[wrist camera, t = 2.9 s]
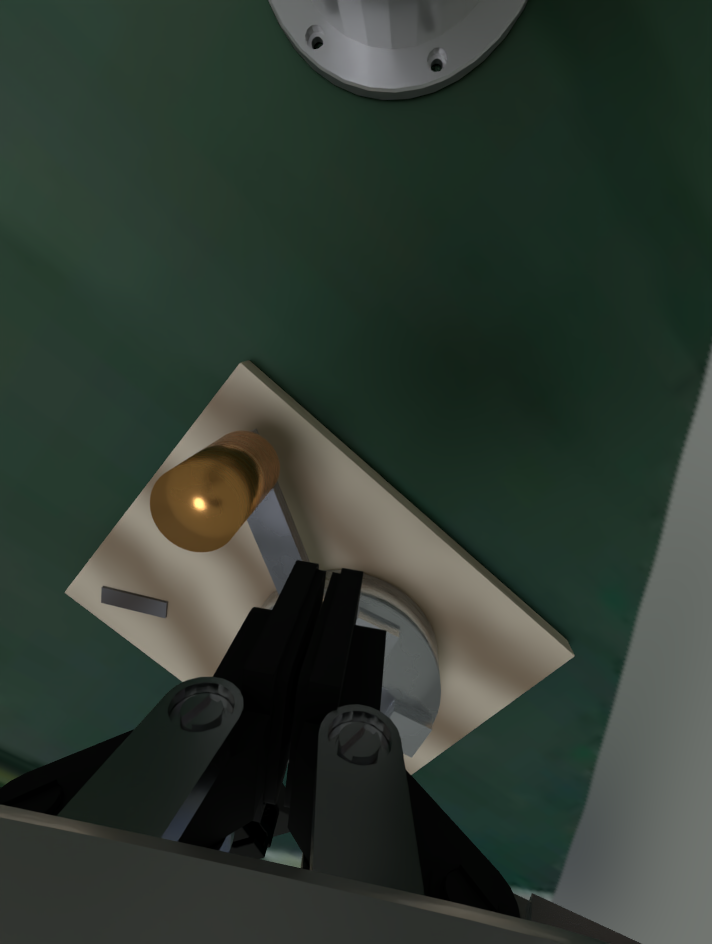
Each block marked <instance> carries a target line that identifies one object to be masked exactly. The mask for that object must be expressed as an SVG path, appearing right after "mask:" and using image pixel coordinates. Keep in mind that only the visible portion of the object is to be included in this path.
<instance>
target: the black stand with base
mask: <svg viewBox="0 0 712 944" xmlns="http://www.w3.org/2000/svg"><path fill="white" fill-rule="evenodd" d="M285 789H286V788H285V786H284V785H283V783H282V785H281V789H280V792H279V796H278V799H277V802H276V804H275V805H274V804H269V803H266V805H265V808H264V812H263V815H262V818H261V822H255V821H251V822H250V823H248V824H246V825H245V826H243V827H241V828H240V829H238V830H236V831H235V832H234V839H233V842H232V845H231V848H230V851H229V853H233V854H237V855H242V856H246V857H251V858H256V859H260V858H264V857H265V853H266V850H267V848H268V847H270V846H271V842H272V838H273V837H274V836H277V835H281V834H284V833H288V832H290V831H289V829H288V819H289V810H290V808H288V807H284V798H285Z"/></svg>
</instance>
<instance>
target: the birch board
mask: <svg viewBox="0 0 712 944" xmlns="http://www.w3.org/2000/svg"><path fill="white" fill-rule="evenodd" d="M256 428H257V430H258V433H259V435H260V436H262V437H263V438H265V439H266V440H267V441H268V442H269V443H270V444H271V445H272V447H273V448H274V450H275V451H276V453H277V456H278V459H279V463H280V473H279V478H278V483H279V486H280V488H281V491H282V493H283V496H284V498H285V501H286V503H287V506H288V508H289V511H290V513H291V516H292V518H293V521H294V523H295V526H296V528H297V531H298V533H299V536H300V538H301V541H302V543H303V546H304V548H305V551H306V553H307V556H308V558H309V561H310V562H311V563H317V564H319V570H341V569H342V568H347V569H352V570H358V571H364V574H368V575H371V576H374V577H377V578H379V579H381V580H384V581H386V582H388V583H390V584H391V585H393V586H395V587H397V588H398V589H399V590H401V591H402V592H403V593H405V594H406V595H407V596H409V597H410V598H411V599H412V600H413V601H414V602H415V603H416V604H417V605H418V607H419V608H420V609H421V610H422V612H423V613H424V614H425V616H426V617H427V619H428V621H429V622H430V624H431V627H432V629H433V631H434V634H435V638H436V642H437V647H438V658H439V671H440V684H441V700H440V706H439V710H438V714H437V716H436V719H435V721H434V723H433V725H432V731H431V733H430V734H429V735H428V737H427V738H426V739H425V741H424V742H423V743H422V745H421V746H420V747H419V749H418V750H417V751H416V753H415V754H414V755H413V757H412V758H411V757H409V756H407V755H405V754H403V755H404V762H405V769H406V770H407V771H408V772H409V774H410V775H412V774H413V773H414V772H416V771H417V770H419V769H420V768H421V767H423V766H424V765H425V764H427V763H428V762H430V761H431V760H432V759H434V758H435V757H436V756H438V755H439V754H441V753H442V752H443V751H445V750H446V749H447V748H449V747H450V746H452V745H453V744H454V743H456V742H457V741H458V740H460V739H461V738H463V737H464V736H465V735H467V734H468V733H469V732H471V731H472V730H474V729H475V728H476V727H478V726H479V725H480V724H482V723H483V722H485V721H486V720H487V719H489V718H490V717H491V716H493V715H494V714H496V713H497V712H498V711H500V710H501V709H502V708H504V707H505V706H507V705H508V704H509V703H511V702H512V701H513V700H515V699H516V698H518V697H519V696H520V695H522V694H523V693H524V692H526V691H527V690H529V689H530V688H531V687H533V686H534V685H535V684H537V683H538V682H540V681H541V680H542V679H544V678H545V677H546V676H548V675H549V674H551V673H552V672H553V671H555V670H556V669H557V668H559V667H560V666H562V665H563V664H564V663H566V662H567V661H568V660H570V659H571V658H573V657H574V656H575V655H574V653H573V651H572V649H571V647H570V645H569V643H568V641H567V640H566V639H565V638H564V637H563V636H562V635H561V634H560V633H559V632H557V631H556V630H555V629H554V628H553V627H552V626H551V625H549V624H548V623H547V622H546V621H545V620H544V619H543V618H541V617H540V616H539V615H538V614H537V613H536V612H535V611H534V610H532V609H531V608H530V607H529V606H528V605H527V604H526V603H524V602H523V601H522V600H521V599H520V598H519V597H518V596H516V595H515V594H514V593H513V592H512V591H511V590H510V589H509V588H507V587H506V586H505V585H504V584H503V583H502V582H501V581H499V580H498V579H497V578H496V577H495V576H494V575H493V574H492V573H490V572H489V571H488V570H487V569H486V568H485V567H484V566H482V565H481V564H480V563H479V562H478V561H477V560H476V559H474V558H473V557H472V556H471V555H470V554H469V553H468V552H467V551H465V550H464V549H463V548H462V547H461V546H460V545H459V544H457V543H456V542H455V541H454V540H453V539H452V538H451V537H449V536H448V535H447V534H446V533H445V532H444V531H443V530H442V529H440V528H439V527H438V526H437V525H436V524H435V523H434V522H432V521H431V520H430V519H429V518H428V517H427V516H426V515H424V514H423V513H422V512H421V511H420V510H419V509H418V508H417V507H415V506H414V505H413V504H412V503H411V502H410V501H409V500H407V499H406V498H405V497H404V496H403V495H402V494H401V493H399V492H398V491H397V490H396V489H395V488H394V487H393V486H392V485H390V484H389V483H388V482H387V481H386V480H385V479H384V478H382V477H381V476H380V475H379V474H378V473H377V472H376V471H375V470H373V469H372V468H371V467H370V466H369V465H368V464H367V463H365V462H364V461H363V460H362V459H361V458H360V457H359V456H357V455H356V454H355V453H354V452H353V451H352V450H351V449H350V448H348V447H347V446H346V445H345V444H344V443H343V442H342V441H340V440H339V439H338V438H337V437H336V436H335V435H334V434H332V433H331V432H330V431H329V430H328V429H327V428H326V427H325V426H323V425H322V424H321V423H320V422H319V421H318V420H317V419H315V418H314V417H313V416H312V415H311V414H310V413H309V412H307V411H306V410H305V409H304V408H303V407H302V406H301V405H300V404H298V403H297V402H296V401H295V400H294V399H293V398H292V397H290V396H289V395H288V394H287V393H286V392H285V391H284V390H282V389H281V388H280V387H279V386H278V385H277V384H276V383H275V382H273V381H272V380H271V379H270V378H269V377H268V376H267V375H265V374H264V373H263V372H262V371H261V370H260V369H259V368H258V367H256V366H255V365H254V364H253V363H252V362H251V361H250V360H248V361H245V362H241V363H240V364H239V365H238V366H237V368H236V369H235V370H234V372H233V373H232V374H231V375H230V377H229V378H228V379H227V381H226V382H225V383H224V385H223V386H222V387H221V389H220V390H219V391H218V392H217V394H216V395H215V396H214V398H213V399H212V400H211V402H210V403H209V404H208V406H207V407H206V408H205V409H204V411H203V412H202V413H201V415H200V416H199V417H198V419H197V420H196V421H195V423H194V424H193V425H192V426H191V428H190V429H189V430H188V432H187V433H186V434H185V436H184V437H183V438H182V440H181V441H180V442H179V443H178V445H177V446H176V447H175V449H174V450H173V451H172V453H171V454H170V455H169V457H168V458H167V459H166V460H165V462H164V463H163V464H162V466H161V467H160V468H159V470H158V471H157V472H156V474H155V475H154V476H153V477H152V479H151V480H150V481H149V483H148V484H147V485H146V487H145V488H144V489H143V491H142V492H141V493H140V494H139V496H138V497H137V498H136V500H135V501H134V502H133V504H132V505H131V506H130V507H129V509H128V510H127V511H126V513H125V514H124V515H123V517H122V518H121V519H120V521H119V522H118V523H117V524H116V526H115V527H114V528H113V530H112V531H111V532H110V534H109V535H108V536H107V538H106V539H105V540H104V541H103V543H102V544H101V545H100V547H99V548H98V549H97V551H96V552H95V553H94V555H93V556H92V557H91V558H90V560H89V561H88V562H87V564H86V565H85V566H84V568H83V569H82V570H81V572H80V573H79V574H78V575H77V577H76V578H75V579H74V581H73V582H72V583H71V585H70V586H69V587H68V589H67V590H66V591H65V593H66V594H67V595H69V596H70V597H71V598H73V599H74V600H75V601H77V602H78V603H79V604H80V605H82V606H83V607H84V608H86V609H87V610H88V611H90V612H91V613H92V614H94V615H95V616H96V617H98V618H99V619H100V620H102V621H103V622H104V623H106V624H107V625H108V626H110V627H111V628H112V629H114V630H115V631H116V632H118V633H119V634H120V635H121V636H123V637H124V638H125V639H127V640H128V641H129V642H131V643H132V644H133V645H135V646H136V647H137V648H139V649H140V650H141V651H143V652H144V653H145V654H147V655H148V656H149V657H151V658H152V659H153V660H155V661H156V662H157V663H159V664H160V665H161V666H162V667H164V668H165V669H166V670H168V671H169V672H170V673H172V674H173V675H174V676H176V677H177V678H178V679H180V680H181V681H182V682H184V681H186V680H190V679H194V678H197V677H213V675H214V673H215V672H216V670H217V668H218V666H219V665H220V663H221V661H222V659H223V658H224V656H225V654H226V652H227V651H228V649H229V647H230V645H231V644H232V642H233V640H234V638H235V636H236V635H237V633H238V631H239V629H240V628H241V626H242V624H243V622H244V621H245V619H246V617H247V615H248V614H249V612H250V610H251V609H252V608H253V607H259V608H261V607H262V605H263V603H264V602H265V601H266V600H267V599H268V597H269V596H270V595H271V594H272V593H273V592H275V591H276V587H275V585H274V583H273V580H272V578H271V576H270V573H269V571H268V569H267V566H266V564H265V562H264V559H263V557H262V555H261V552H260V550H259V548H258V545H257V543H256V541H255V538H254V536H253V534H252V531H251V529H250V527H249V524H248V522H247V520H246V521H245V523H244V524H243V525H242V526H241V528H240V529H239V530H238V531H237V532H236V534H235V535H234V536H233V537H232V539H231V540H230V541H229V542H228V543H227V544H225V545H224V546H223V547H221V548H219V549H217V550H214V551H210V552H192V551H188V550H185V549H182V548H180V547H178V546H176V545H175V544H173V543H172V542H170V541H169V540H168V539H167V538H166V537H164V535H163V534H162V533H161V532H160V531H159V529H158V528H157V526H156V524H155V523H154V520H153V518H152V515H151V511H150V495H151V491H152V488H153V486H154V484H155V483H156V481H157V480H158V479H159V478H160V477H161V476H162V475H163V474H164V473H166V472H167V471H169V470H170V469H172V468H174V467H175V466H177V465H178V464H180V463H182V462H183V461H185V460H186V459H188V458H189V457H191V456H193V455H194V454H196V453H197V452H199V451H201V450H202V449H204V448H205V447H207V446H208V445H210V444H212V443H213V442H215V441H216V440H218V439H220V438H221V437H223V436H224V435H226V434H228V433H230V432H234V431H250V430H253V429H256Z"/></svg>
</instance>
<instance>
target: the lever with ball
mask: <svg viewBox="0 0 712 944" xmlns="http://www.w3.org/2000/svg"><path fill="white" fill-rule="evenodd" d="M279 473H280V463H279V459H278V456H277V453H276V451H275V450H274V448H273V447H272V445H271V444H270V443H269V442H268V441H267V440H266V439H265V438H263V437H262V436H260V435H259V433H258V430H257V428H256V429H253V430H250V431H234V432H230V433H228V434H226V435H224V436H223V437H221V438H220V439H218V440H216V441H215V442H213V443H212V444H210V445H208V446H207V447H205V448H204V449H202V450H201V451H199V452H197V453H196V454H194V455H193V456H191V457H189V458H188V459H186V460H185V461H183V462H182V463H180V464H178V465H177V466H175V467H174V468H172V469H170V470H169V471H167V472H166V473H164V474H163V475H162V476H161V477H160V478H159V479H158V480H157V481H156V483H155V484H154V486H153V488H152V491H151V495H150V511H151V515H152V518H153V520H154V523H155V524H156V526H157V528H158V529H159V531H160V532H161V533H162V534H163V535H164V537H166V538H167V539H168V540H169V541H170V542H172V543H173V544H175V545H176V546H178V547H180V548H182V549H185V550H188V551H192V552H210V551H214V550H217V549H219V548H221V547H223V546H224V545H225V544H227V543H228V542H229V541H230V540H231V539H232V537H233V536H234V535H235V534H236V532H237V531H238V530H239V529H240V528H241V526H242V525H243V524H244V523H245V521H246V520H247V522H248V524H249V527H250V529H251V531H252V534H253V536H254V538H255V541H256V543H257V545H258V548H259V550H260V552H261V555H262V557H263V559H264V562H265V564H266V566H267V569H268V571H269V573H270V576H271V578H272V580H273V583H274V585H275V587H276V591H275V592H273V593H272V594H271V595H270V596H269V597H268V599H267V600H266V601H265V602H264V603H263V605H262V607H261V608H264V609H270V610H272V609H273V607H274V605H275V603H276V601H277V599H278V597H279V595H280V593H281V591H282V589H283V587H284V585H285V583H286V581H287V578H288V576H289V574H290V572H291V570H292V568H293V566H294V564H295V562H296V561H297V560H300V561H306V562H310V561H309V558H308V556H307V553H306V551H305V548H304V546H303V543H302V541H301V538H300V536H299V533H298V531H297V528H296V526H295V523H294V521H293V518H292V516H291V513H290V511H289V508H288V506H287V503H286V501H285V498H284V496H283V493H282V491H281V488H280V486H279V483H278V478H279ZM323 571H326V579H325V587H324V595H323V600H324V597H325V594H326V591H327V587H328V584H329V581H330V578H331V575H332V572H335V573H341V570H323ZM356 625H360V626H365V627H371V628H376V629H382V630H386V645H385V657H384V669H383V682H382V694H381V706H380V711H381V712H382V713H384V714H385V715H386V716H387V717H389V718H390V719H391V720H392V722H393V723H394V724H395V726H396V727H397V729H398V732H399V735H400V738H401V742H402V749H403V754H405V755H407V756H409V757H411V758H412V757H413V755H414V754H415V753H416V751H417V750H418V749H419V747H420V746H421V745H422V743H423V742H424V741H425V739H426V738H427V737H428V735H429V734H430V733H431V731H432V725H433V723H434V721H435V719H436V716H437V714H438V710H439V706H440V700H441V684H440V671H439V658H438V647H437V642H436V638H435V634H434V631H433V629H432V627H431V624H430V622H429V621H428V619H427V617H426V616H425V614H424V613H423V612H422V610H421V609H420V608H419V607H418V605H417V604H416V603H415V602H414V601H413V600H412V599H411V598H410V597H409V596H407V595H406V594H405V593H403V592H402V591H401V590H399V589H398V588H397V587H395V586H393V585H391V584H390V583H388V582H386V581H384V580H381V579H379V578H377V577H374V576H371V575H368V574H364V573H363V580H362V587H361V593H360V600H359V607H358V613H357V620H356ZM288 762H289V761H288Z"/></svg>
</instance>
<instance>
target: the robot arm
mask: <svg viewBox="0 0 712 944" xmlns="http://www.w3.org/2000/svg"><path fill="white" fill-rule="evenodd" d="M268 1H269V3H270V6H271V8H272V10H273V12H274V14H275V17H276V19H277V21H278V23H279V25H280V26H281V28H282V30H283V31H284V33H285V35H286V36H287V38H288V39H289V41H290V43H291V44H292V46H293V48H294V49H295V50H296V51H297V52H298V53H299V54H300V56H301V57H302V58H303V59H304V60H305V61H306V62H307V63H308V64H309V65H310V67H311V68H312V69H313V70H315V71H316V72H317V73H319V74H320V75H322V76H323V77H324V78H326V79H327V80H328V81H330V82H331V83H332V84H334V85H336V86H338V87H340V88H343V89H345V90H347V91H349V92H352V93H354V94H356V95H359V96H364V97H370V98H375V99H380V100H396V99H411V98H414V97H418V96H422V95H426V94H429V93H433V92H436V91H438V90H440V89H442V88H444V87H446V86H448V85H450V84H452V83H454V82H456V81H458V80H460V79H461V78H462V77H464V76H465V75H466V74H467V73H469V72H470V71H471V70H473V69H474V68H475V67H477V66H478V65H479V64H480V63H482V62H483V61H484V60H485V59H486V58H487V57H488V56H489V55H490V54H491V52H492V51H493V50H494V49H495V48H496V47H497V46H498V45H499V44H500V43H501V42H502V40H503V39H504V38H505V37H506V36H507V34H508V33H509V31H510V30H511V28H512V26H513V25H514V23H515V22H516V20H517V19H518V17H519V16H520V14H521V13H522V11H523V10H524V8H525V6H526V4H527V1H528V0H268ZM317 42H321V43H323V45H322V46H321V47H320V48H319V49H313V48H314V45H315V44H316V43H317ZM434 64H439V65H441V67H442V70H441V71H439V72H434V71H432V70H431V67H432V66H433V65H434ZM363 573H364V571H358V570H352V569H347V568H342V569H341V573H335V572H332V575H331V578H330V581H329V584H328V587H327V591H326V594H325V597H324V600H323V595H324V587H325V579H326V571H323V570H319V564H317V563H311V562H306V561H300V560H297V561H296V562H295V564H294V566H293V568H292V570H291V572H290V574H289V576H288V578H287V581H286V583H285V585H284V587H283V589H282V591H281V593H280V595H279V597H278V599H277V601H276V603H275V605H274V607H273V609H272V610H270V609H264V608H259V607H253V608H252V609H251V610H250V612H249V614H248V615H247V617H246V619H245V621H244V622H243V624H242V626H241V628H240V629H239V631H238V633H237V635H236V636H235V638H234V640H233V642H232V644H231V645H230V647H229V649H228V651H227V652H226V654H225V656H224V658H223V659H222V661H221V663H220V665H219V666H218V668H217V670H216V672H215V673H214V675H213V677H197V678H194V679H190V680H186V681H184V682H182V683H180V684H178V685H176V686H175V687H174V688H173V689H171V690H170V691H169V692H168V693H167V694H166V695H165V696H164V697H163V698H162V699H161V700H160V701H159V703H158V704H157V705H156V706H155V707H154V708H153V709H152V710H151V711H150V713H149V714H148V715H147V716H146V717H145V718H144V719H143V720H142V721H141V723H140V724H139V725H138V726H137V727H136V728H135V729H134V730H131V731H129V732H126V733H124V734H121V735H119V736H116V737H114V738H111V739H109V740H106V741H104V742H101V743H99V744H96V745H94V746H92V747H89V748H87V749H84V750H82V751H79V752H77V753H74V754H72V755H69V756H67V757H64V758H62V759H59V760H57V761H54V762H52V763H50V764H47V765H45V766H42V767H40V768H37V769H35V770H32V771H30V772H27V773H25V774H23V775H21V776H19V777H17V778H16V779H14V780H12V781H10V782H8V783H7V784H6V785H4V786H3V787H0V944H641V943H639V942H637V941H635V940H632V939H630V938H628V937H626V936H624V935H622V934H620V933H617V932H615V931H613V930H611V929H609V928H606V927H604V926H602V925H600V924H598V923H596V922H594V921H591V920H589V919H587V918H585V917H583V916H581V915H578V914H576V913H574V912H572V911H570V910H568V909H565V908H563V907H561V906H559V905H557V904H554V903H552V902H550V901H548V900H546V899H544V898H542V897H539V896H537V895H535V894H533V893H532V894H531V897H530V900H527V899H525V898H522V897H520V896H518V895H516V894H514V893H513V892H512V890H511V888H510V886H509V885H508V883H507V882H506V881H505V879H504V878H503V877H502V875H501V874H500V872H499V871H498V870H497V869H496V868H495V867H494V866H493V865H492V864H491V862H490V861H489V860H488V859H487V858H486V857H485V856H484V855H483V854H482V853H481V851H480V850H479V849H478V848H477V847H476V846H475V845H474V844H473V843H472V842H471V841H470V839H469V838H468V837H467V836H466V835H465V834H464V833H463V832H462V831H461V830H460V828H459V827H458V826H457V825H456V824H455V823H454V822H453V821H452V820H451V819H450V817H449V816H448V815H447V814H446V813H445V812H444V811H443V810H442V809H441V808H440V806H439V805H438V804H437V803H436V802H435V801H434V800H433V799H432V798H431V797H430V796H429V794H428V793H427V792H426V791H425V790H424V789H423V788H422V787H421V786H420V785H419V783H418V782H417V781H416V780H415V779H414V778H413V777H412V776H411V775H410V774H409V772H408V771H407V770H406V769H405V762H404V755H403V749H402V742H401V738H400V735H399V732H398V729H397V727H396V726H395V724H394V723H393V722H392V720H391V719H390V718H389V717H387V716H386V715H385V714H384V713H382V712H381V711H380V706H381V694H382V682H383V669H384V657H385V645H386V630H382V629H376V628H371V627H365V626H360V625H356V620H357V613H358V607H359V600H360V593H361V587H362V580H363ZM288 761H289V762H288ZM287 764H288V771H287V780H286V789H285V798H284V807H288V808H290V810H289V819H288V829H289V831H290V832H291V834H292V836H293V837H294V839H295V841H296V842H297V844H298V846H299V847H300V849H301V850H302V852H303V854H302V862H301V868H297V867H293V866H288V865H283V864H279V863H274V862H269V861H265V860H260V859H256V858H251V857H246V856H242V855H237V854H233V853H229V851H230V848H231V845H232V842H233V839H234V832H235V831H236V830H238V829H240V828H241V827H243V826H245V825H246V824H248V823H250V822H251V821H255V822H261V818H262V815H263V812H264V808H265V805H266V803H269V804H274V805H275V804H276V802H277V799H278V796H279V792H280V789H281V785H282V782H283V778H284V775H285V771H286V768H287Z"/></svg>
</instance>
